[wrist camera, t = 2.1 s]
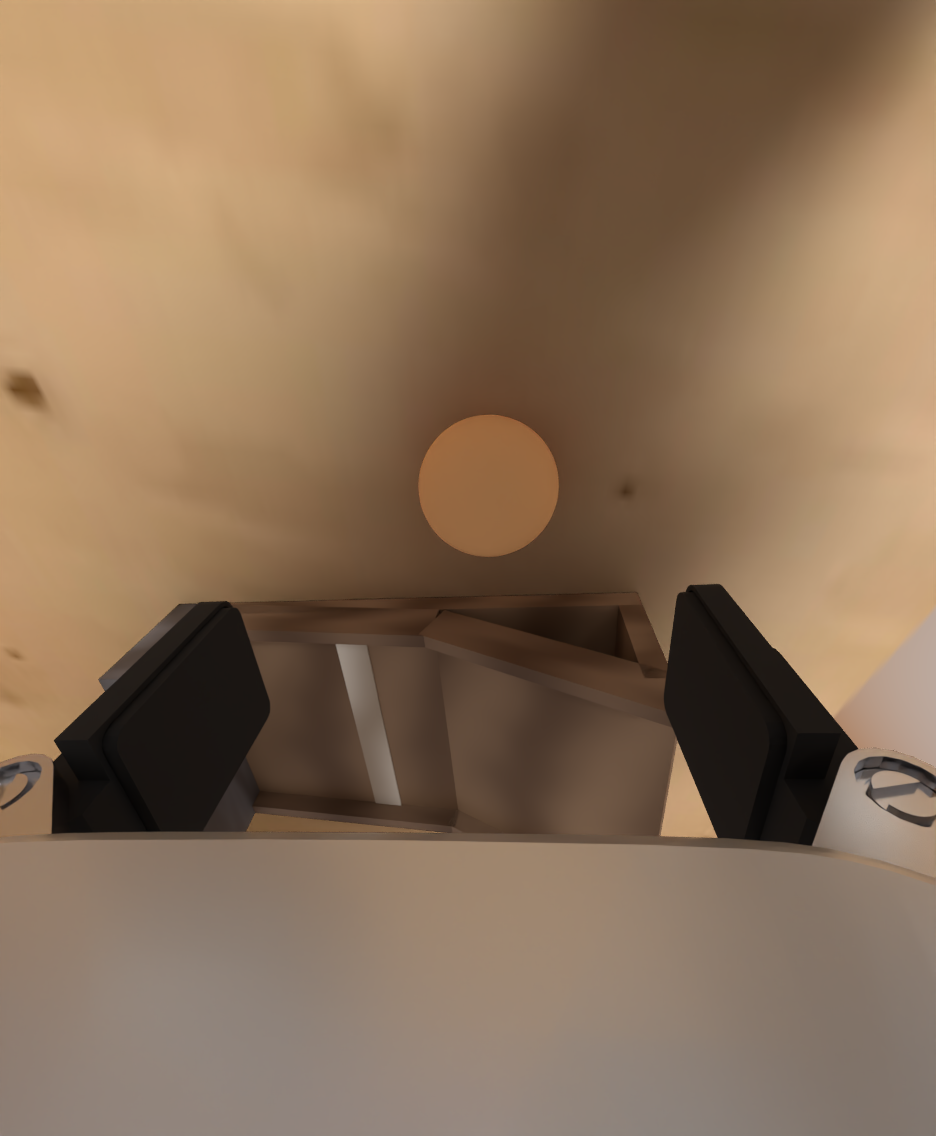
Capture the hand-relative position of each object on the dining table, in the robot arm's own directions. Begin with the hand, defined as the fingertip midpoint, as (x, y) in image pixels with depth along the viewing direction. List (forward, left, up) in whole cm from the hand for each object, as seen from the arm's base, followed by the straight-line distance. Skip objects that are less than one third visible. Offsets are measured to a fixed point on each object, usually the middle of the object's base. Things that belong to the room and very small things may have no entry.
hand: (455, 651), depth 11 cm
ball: (-1, 0, -9) cm, 9 cm away
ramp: (+10, +8, -11) cm, 17 cm away
